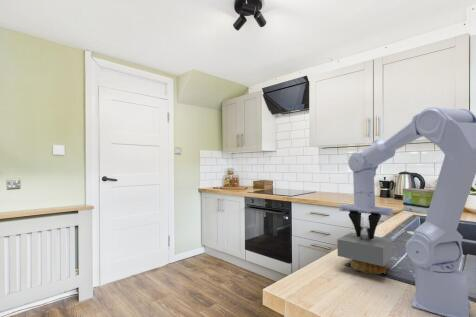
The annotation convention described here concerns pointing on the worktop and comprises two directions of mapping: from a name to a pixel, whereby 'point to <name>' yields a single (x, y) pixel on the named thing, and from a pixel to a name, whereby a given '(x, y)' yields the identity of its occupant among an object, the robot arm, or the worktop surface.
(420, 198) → the tea box
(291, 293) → the worktop surface
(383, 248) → the cover
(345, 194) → the worktop surface
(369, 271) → the pastry
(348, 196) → the worktop surface
